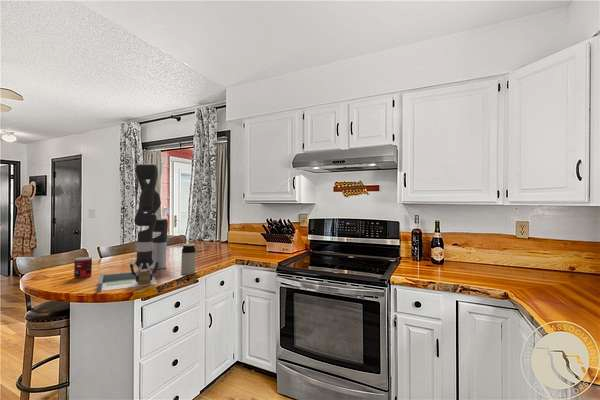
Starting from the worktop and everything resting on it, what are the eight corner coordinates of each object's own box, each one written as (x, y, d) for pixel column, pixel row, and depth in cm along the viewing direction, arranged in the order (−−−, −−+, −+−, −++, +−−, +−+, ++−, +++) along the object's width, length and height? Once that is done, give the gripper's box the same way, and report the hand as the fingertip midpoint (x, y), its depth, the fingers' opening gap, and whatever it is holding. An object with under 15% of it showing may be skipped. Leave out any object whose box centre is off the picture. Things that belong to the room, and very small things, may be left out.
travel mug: (195, 274, 175) (196, 244, 176) (182, 275, 171) (182, 245, 172) (193, 271, 182) (194, 243, 182) (180, 272, 178) (181, 244, 178)
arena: (100, 282, 153) (100, 274, 153) (153, 276, 167) (154, 269, 167) (97, 291, 136) (97, 283, 137) (157, 284, 150) (157, 277, 150)
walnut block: (138, 281, 155) (138, 270, 155) (148, 280, 158) (148, 269, 158) (139, 285, 147) (139, 274, 147) (149, 284, 149) (150, 272, 149)
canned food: (72, 277, 163) (73, 258, 163) (89, 275, 168) (90, 256, 169) (75, 279, 157) (76, 260, 158) (92, 277, 163) (93, 258, 164)
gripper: (158, 248, 160) (157, 278, 159) (129, 250, 152) (128, 281, 152) (160, 250, 153) (159, 281, 153) (129, 252, 146) (128, 285, 145)
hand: (143, 281), depth 152 cm, fingers closed on walnut block, 5 cm apart
